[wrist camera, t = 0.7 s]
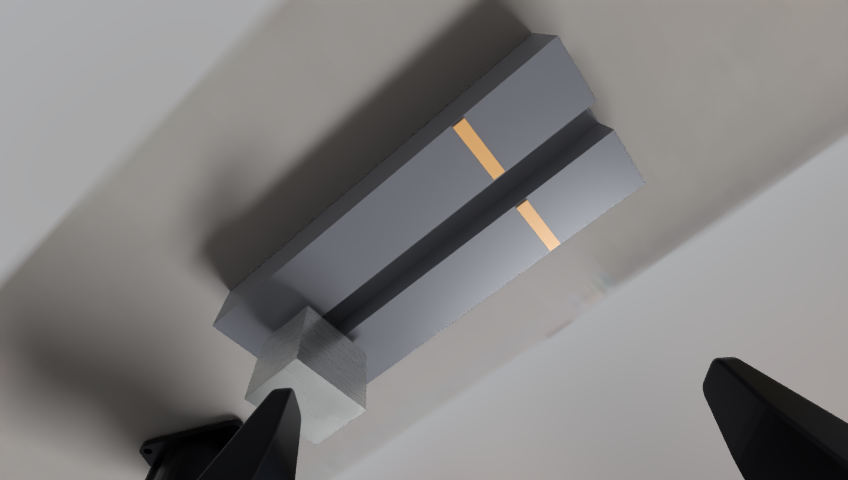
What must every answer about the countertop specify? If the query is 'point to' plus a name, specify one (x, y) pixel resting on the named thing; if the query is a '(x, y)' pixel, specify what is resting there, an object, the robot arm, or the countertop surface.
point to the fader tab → (313, 373)
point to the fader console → (447, 213)
